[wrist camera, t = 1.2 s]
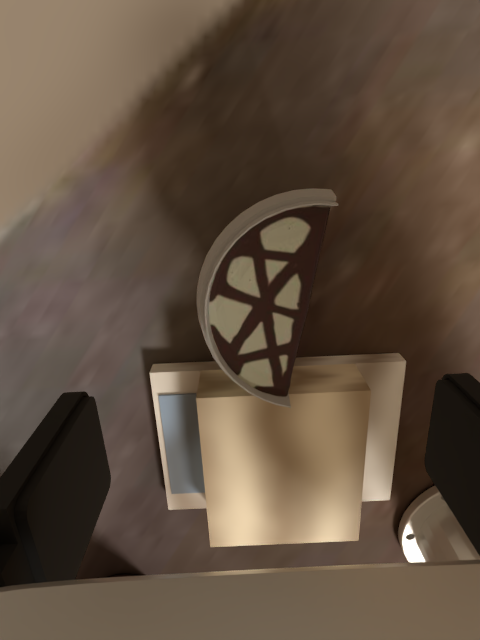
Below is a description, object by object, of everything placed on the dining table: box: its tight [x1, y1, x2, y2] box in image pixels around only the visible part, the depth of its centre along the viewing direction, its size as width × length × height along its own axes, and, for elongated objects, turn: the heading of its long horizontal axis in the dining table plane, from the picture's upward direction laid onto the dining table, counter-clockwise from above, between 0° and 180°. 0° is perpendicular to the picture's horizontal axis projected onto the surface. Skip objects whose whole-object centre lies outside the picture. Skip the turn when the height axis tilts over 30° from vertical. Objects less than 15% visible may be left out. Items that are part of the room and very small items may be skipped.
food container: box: [197, 188, 339, 408], centre depth 25 cm, size 12×6×10 cm, turn 171°
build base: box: [149, 353, 406, 547], centre depth 33 cm, size 20×14×6 cm
